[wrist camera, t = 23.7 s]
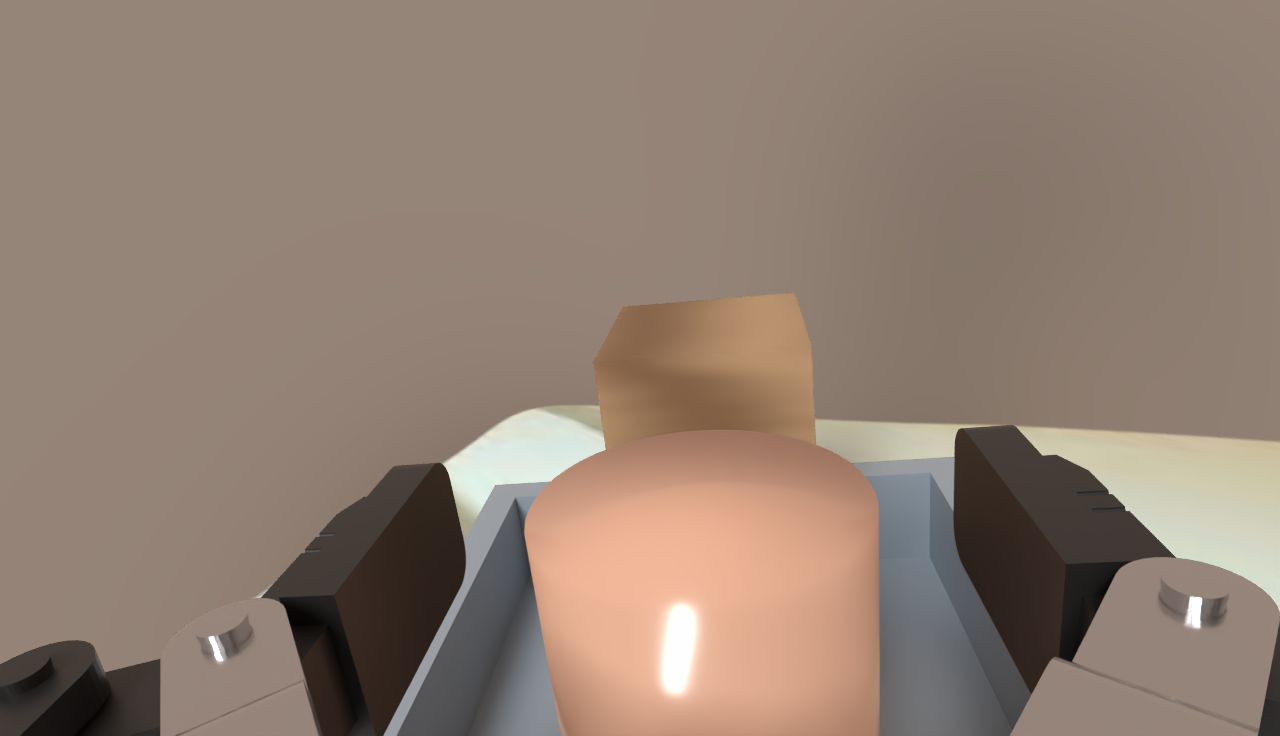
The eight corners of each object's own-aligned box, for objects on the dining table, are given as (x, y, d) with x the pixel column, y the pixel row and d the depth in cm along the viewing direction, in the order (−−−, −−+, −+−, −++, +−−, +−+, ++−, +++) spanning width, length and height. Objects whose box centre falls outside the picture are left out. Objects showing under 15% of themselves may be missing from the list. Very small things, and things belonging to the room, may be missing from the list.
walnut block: (809, 588, 25) (794, 292, 22) (827, 702, 20) (811, 346, 17) (658, 591, 25) (623, 306, 22) (642, 702, 21) (593, 362, 18)
